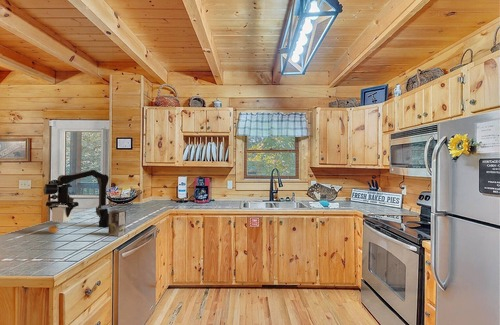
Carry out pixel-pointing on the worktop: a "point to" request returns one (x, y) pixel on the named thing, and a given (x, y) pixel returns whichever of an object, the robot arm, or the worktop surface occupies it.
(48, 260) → the worktop surface
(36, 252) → the worktop surface
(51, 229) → the ball
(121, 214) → the coffee box
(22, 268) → the worktop surface
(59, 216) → the beige cardboard box
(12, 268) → the worktop surface
